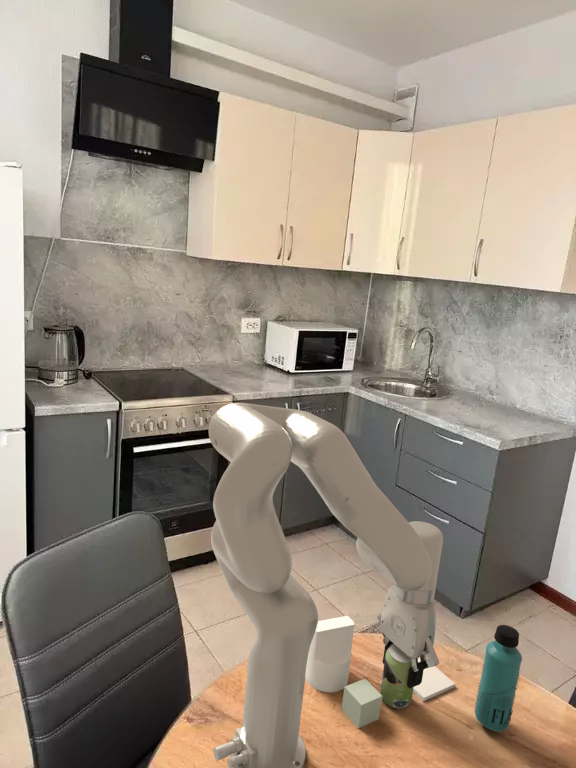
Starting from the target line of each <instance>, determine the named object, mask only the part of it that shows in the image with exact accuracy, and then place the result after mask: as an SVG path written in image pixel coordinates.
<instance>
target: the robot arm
mask: <svg viewBox="0 0 576 768" xmlns="http://www.w3.org/2000/svg"><path fill="white" fill-rule="evenodd" d="M208 437H209V440H210V444H211V445H212V447H213V448H214V449H215V450H216V451H217V452H218V454H220V455H221V456H223V458H225V459H226V460H227V461H229V462H230V463H229V465H228V466H227V468H226V470H225V471H224V472H223V474H222V476H221V478H220V480H219V482H218V484H217V487H216V489H215V491H214V495H213V501H212V505H213V506H212V508H213V513H214V518H215V519H216V520H215V522H214V524H213V526H212V529H211V534H210V536H211V537H210V541H211V542H210V543H211V548H212V550H213V553H214V555H215V558H216V560H217V562H218V565H219V567H220V570H221V572H222V575H223V577H224V579H225V581H226V584H227V586H228V588H229V589H230V592H231V594H232V596H233V598H234V599H235V601H236V602H237V603H238V605H239V606H240V608H241V609H242V610H243V611H244V613H245V614H246V615H247V617H248V619H249V620H250V621H251V623H252V624H253V626H254V627H255V630H256V634H257V637H256V638H257V639H256V641H255V642H254V644H253V645H252V647H251V649H250V651H249V655H248V659H247V668H246V682H245V683H246V684H245V693H244V694H245V695H244V705H243V714H242V715H243V716H242V723H241V725H242V726H241V727H237V728H236V729H235V734H234V736H233V737H232V738H231V739H230V741H229V742H227V743H222V744H219V745H217V746H214V748H213V751H212V752H213V756H214V759H215V761H216V762H219V761H220V760H223V759H226V758H227V766H228V768H304V765H305V761H306V754H307V753H306V752H307V751H306V745H305V742H304V740H303V738H302V736H301V735H300V725H301V716H302V711H303V709H302V708H303V700H304V690H305V684H306V683H305V682H306V679H305V674H306V666H307V659H308V654H309V649H310V646H311V642H312V639H313V637H314V634H315V631H316V628H317V624H318V621H319V612H318V607H317V605H316V603H315V600H314V599H313V597H312V596H311V594H310V593H309V592H308V590H307V589H305V587H304V586H303V585H302V584H301V583H300V582H299V581H298V580H297V579H296V578H295V577H294V576H293V575H292V574H291V573H292V568H293V561H292V560H293V557H292V554H291V553H292V552H291V549H290V547H289V545H288V542H287V540H286V537H285V534H284V532H283V529H282V526H281V524H280V520H279V518H278V516H277V512H276V509H275V506H274V502H273V496H274V493H275V490H276V488H277V486H278V485H279V482H280V480H282V478H283V476H284V475H285V473H286V471H287V470H288V468H289V466H290V463H293V464H294V465H295V466H297V467H299V469H300V470H301V471H302V472H303V474H305V476H306V477H307V479H308V480H309V482H310V483H311V485H312V486H313V487H314V488H315V490H316V491H317V493H318V494H319V495H320V498H321V499H322V500H323V502H324V504H325V505H326V506H327V508H328V509H329V511H330V512H331V514H333V516H334V517H335V519H337V520H338V521H339V522H340V523H341V524H342V526H344V528H345V529H347V530H348V531H349V532H351V533H352V534H353V535H354V536H355V537H357V538H356V542H355V543H356V544H355V546H356V550H357V553H358V555H359V556H360V558H361V559H362V560H363V561H364V562H365V563H366V564H367V565H369V566H370V567H371V568H373V569H374V570H375V571H376V572H378V573H379V574H380V575H382V576H383V577H384V578H386V579H387V580H388V581H389V582H390V583H391V585H390V587H389V589H388V591H387V593H386V597H385V599H384V603H383V607H382V612H381V613H380V614H378V615H377V620H378V623H379V626H380V628H379V629H380V631H381V634H382V637H383V639H382V642H383V645H384V649H383V650H384V651H383V659H382V664H383V665H384V661H385V654H386V651H387V649H388V648H389V647H390V646H391V645H392V644H393V643H394V644H395V645H396V646H397V647H398V648H399V649H401V650H402V651H403V652H404V653H405V654H406V655H408V656H409V657H410V658H411V661H412V667H411V668H410V669H409V674H408V680H407V687H408V688H412V687H415V686H417V685H420V684H421V682H422V677H423V671H424V669H426V668H430V667H434V666H435V667H436V666H438V665H440V661H439V658H438V655H437V653H436V649H435V647H434V644H435V637H436V636H435V635H436V627H437V626H436V624H437V623H436V622H437V611H436V609H437V608H436V603H435V602H434V600H435V594H436V587H437V581H438V574H439V571H440V570H439V568H440V564H441V563H440V562H441V555H442V548H443V544H444V535H443V532H442V531H441V530H440V528H438V527H437V526H435V525H434V524H432V523H429V522H427V521H426V522H425V521H420V520H419V521H418V520H417V521H416V520H415V521H408V520H407V519H406V518H405V517H404V515H403V514H402V513H401V512H400V511H399V510H398V509H397V507H395V506H394V504H393V503H392V502H391V500H390V499H389V498H388V497H387V496H386V495H385V494H384V493H383V491H382V490H381V489H380V488H379V487H378V486H377V484H376V483H375V481H374V479H373V478H372V476H371V474H370V473H369V472H368V470H367V468H366V467H365V465H364V463H363V462H362V460H361V459H360V457H359V455H358V453H357V452H356V450H355V449H354V447H353V445H352V444H351V442H350V440H349V439H348V437H347V436H346V434H345V433H344V432H343V431H342V429H340V428H339V427H338V426H337V425H335V424H333V423H331V422H329V421H327V420H325V419H323V418H321V417H320V416H318V415H315V414H313V413H311V412H308V411H304V410H300V409H295V408H287V407H277V406H270V405H269V406H268V405H261V404H255V403H247V402H231V403H229V404H226V405H224V406H222V407H220V408H219V409H218V410H217V411H215V413H214V414H213V415H212V417H211V419H210V421H209V425H208ZM418 658H420V661H421V662H418ZM229 756H230V757H229Z"/></svg>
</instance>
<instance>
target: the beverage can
mask: <svg viewBox="0 0 576 768" xmlns="http://www.w3.org/2000/svg"><path fill="white" fill-rule="evenodd" d="M411 667H412V661H411V658H410V657H409V656H408V655H406V654H405V653H404V652H403V651H402V650H401V649H399V648H398V647H397V646H396V645H395V644H394V643H393V644H392V645H391V646H390V647H389V648H388V649H387V651H386V654H385V661H384V664H383V671H382V677H381V678H382V679H381V684H380V694H381V695H382V701H384V703H385V704H387V705H388V706H389V707H391V708H394V709H404V708H407V707H409V705H410V704H411V703H412V699H413V693H414V692H413V688H414V687H412V688H408V687H407V680H408V674H409V669H410V668H411Z"/></svg>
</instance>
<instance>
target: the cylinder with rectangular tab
mask: <svg viewBox="0 0 576 768" xmlns="http://www.w3.org/2000/svg"><path fill="white" fill-rule="evenodd" d="M354 631H355V622H354V621H353V619H351V617H349V616H348V615H345V616H339V617H338V616H337V617H333V618H328V619H324V620H318V624H317V628H316V631H315V634H314V637H313V639H312V642H311V646H310V649H309V654H308V659H307V666H306V674H305V682H307V684H308V685H309V686H310V687H312V688H313V689H315V690H317V691H320V692H323V693H337V692H339V691H342V690H344V687H345V686H347V685H348V681H349V678H350V677H349V676H350V666H351V661H352V647H353V639H354Z"/></svg>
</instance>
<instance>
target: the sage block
mask: <svg viewBox="0 0 576 768" xmlns="http://www.w3.org/2000/svg"><path fill="white" fill-rule="evenodd" d="M382 701H383V699H382V695H381V692H379V691H378V690H377V689H376V688H375V687H374V686H373V685H372V684H371V683H370V682H369V681H368V680H367V679H366V678H363V679H360V680H357V681H356V682H355V681H354V682H353V683H350V684H347V685H346V686H345V687H344V688H343V694H342V703H341V711H342V712H343V713H344V714H345V716H346V717H347V718H349V720H350V721H351V723H353V724H354V726H355V727H356V728H357V729H360V728H363V727H364V726H367V725H369V724H372V723H373V722H375V721H378V720H380V714H381V708H382Z"/></svg>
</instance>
